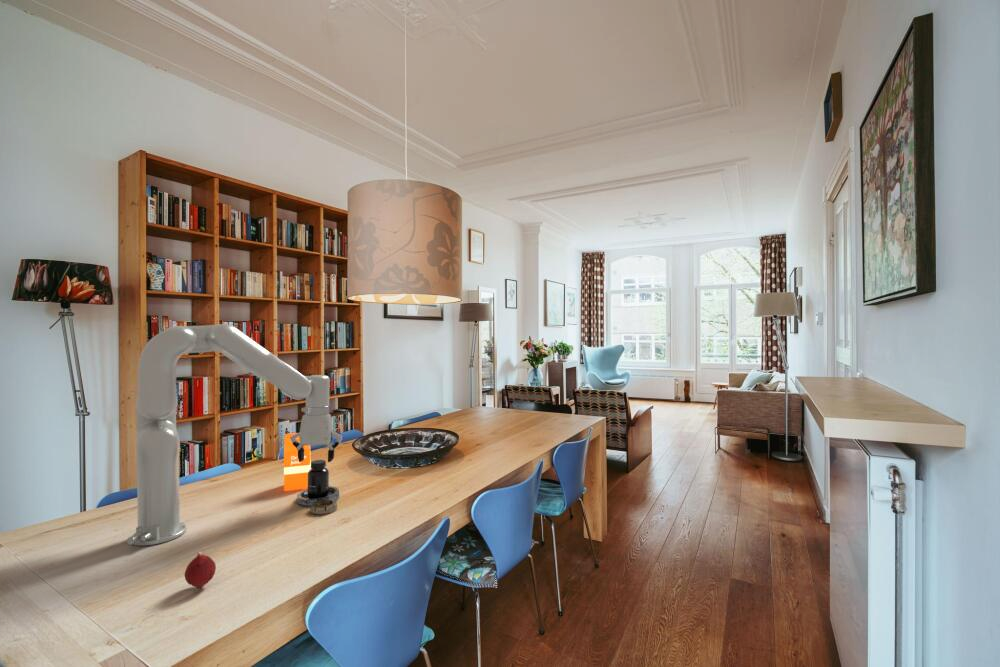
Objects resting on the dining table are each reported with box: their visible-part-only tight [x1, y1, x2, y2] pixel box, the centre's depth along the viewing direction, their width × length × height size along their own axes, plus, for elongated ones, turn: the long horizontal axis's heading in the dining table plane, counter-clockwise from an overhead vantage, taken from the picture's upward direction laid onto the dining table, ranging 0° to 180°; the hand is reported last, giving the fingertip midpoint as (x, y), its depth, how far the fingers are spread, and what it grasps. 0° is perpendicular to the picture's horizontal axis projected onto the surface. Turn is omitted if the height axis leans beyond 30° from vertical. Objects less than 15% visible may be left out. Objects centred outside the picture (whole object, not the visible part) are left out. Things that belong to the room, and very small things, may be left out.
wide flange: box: [296, 485, 340, 508], centre depth 155 cm, size 14×14×2 cm
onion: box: [184, 551, 217, 589], centre depth 102 cm, size 6×6×8 cm
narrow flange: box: [310, 499, 338, 516], centre depth 146 cm, size 8×8×2 cm
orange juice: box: [283, 432, 312, 492], centre depth 168 cm, size 8×9×20 cm
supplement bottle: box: [307, 459, 330, 499], centre depth 155 cm, size 7×7×12 cm
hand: (315, 461), depth 155 cm, fingers open, 9 cm apart
